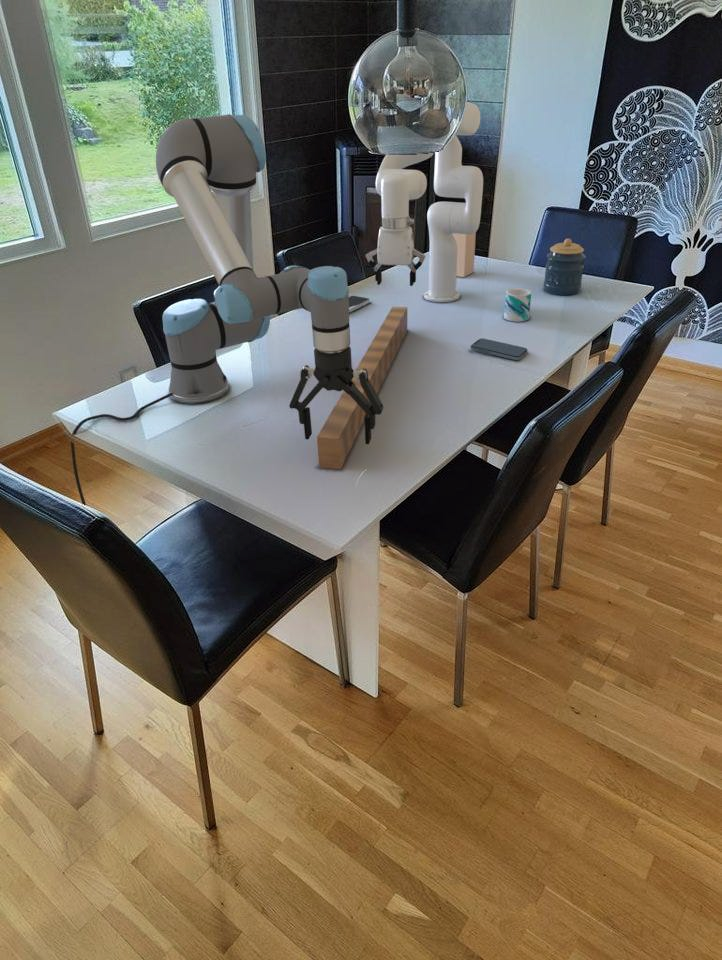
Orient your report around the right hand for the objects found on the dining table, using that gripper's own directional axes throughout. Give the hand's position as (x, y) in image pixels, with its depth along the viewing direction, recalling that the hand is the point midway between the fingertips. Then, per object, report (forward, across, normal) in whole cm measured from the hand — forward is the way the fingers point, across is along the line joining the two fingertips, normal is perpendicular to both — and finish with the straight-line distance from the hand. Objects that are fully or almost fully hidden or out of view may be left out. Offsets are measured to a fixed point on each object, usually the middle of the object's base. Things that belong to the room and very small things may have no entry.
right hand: (395, 284), depth 196 cm
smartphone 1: (+17, +21, -27) cm, 38 cm away
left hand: (+13, 0, +69) cm, 71 cm away
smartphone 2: (+17, -31, +7) cm, 36 cm away
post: (+17, 0, +35) cm, 38 cm away
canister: (+17, -50, -54) cm, 75 cm away
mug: (+17, -36, -25) cm, 47 cm away
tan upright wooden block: (+17, -12, -73) cm, 76 cm away
